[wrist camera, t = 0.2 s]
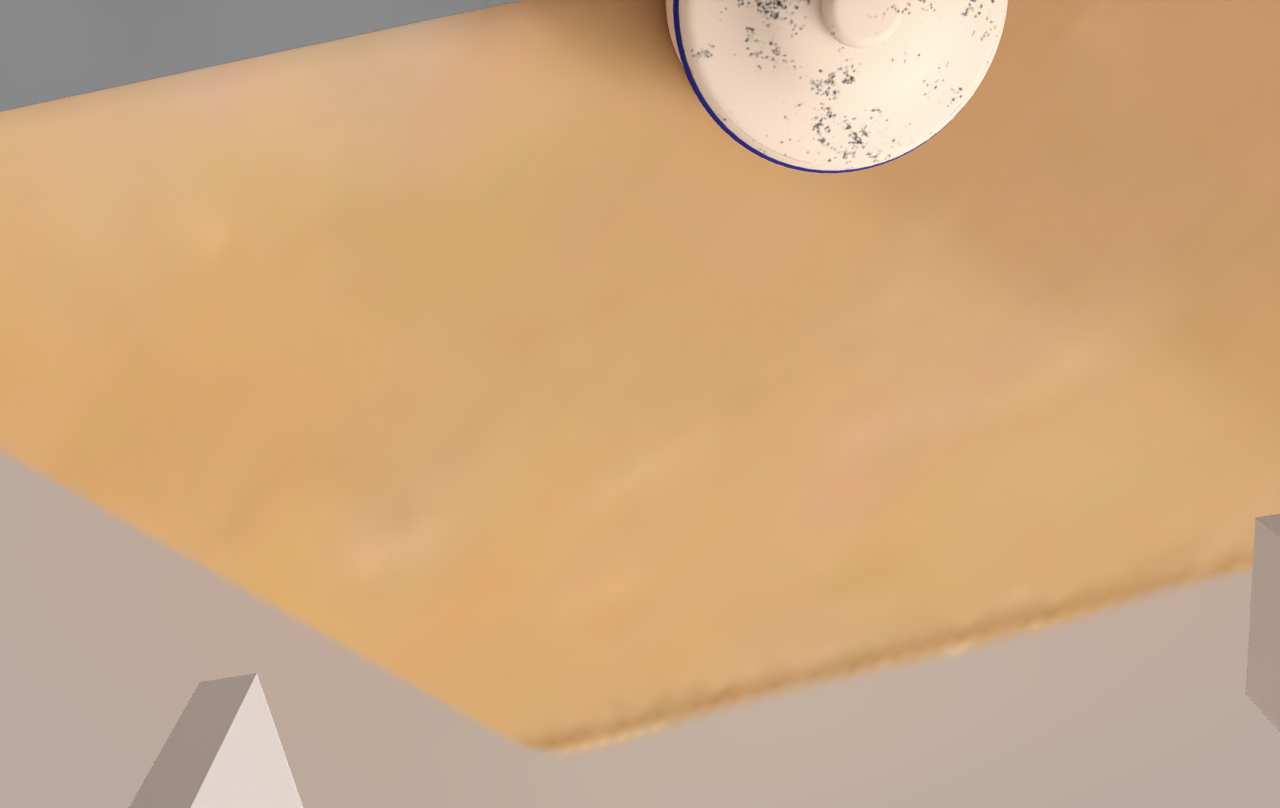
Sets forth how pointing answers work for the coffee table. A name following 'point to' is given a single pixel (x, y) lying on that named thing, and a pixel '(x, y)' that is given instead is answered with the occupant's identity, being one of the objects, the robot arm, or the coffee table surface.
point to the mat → (174, 37)
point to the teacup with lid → (834, 72)
